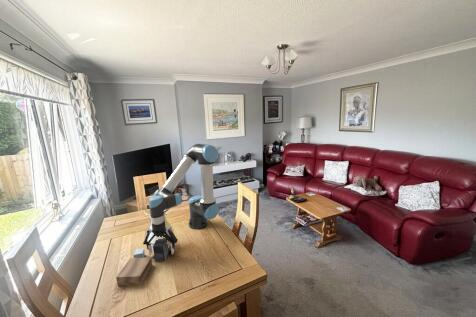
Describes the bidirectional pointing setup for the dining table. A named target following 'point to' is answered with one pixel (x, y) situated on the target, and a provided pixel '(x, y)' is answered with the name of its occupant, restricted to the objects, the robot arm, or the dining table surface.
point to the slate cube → (139, 253)
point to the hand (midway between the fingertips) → (161, 253)
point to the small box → (160, 249)
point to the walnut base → (134, 271)
